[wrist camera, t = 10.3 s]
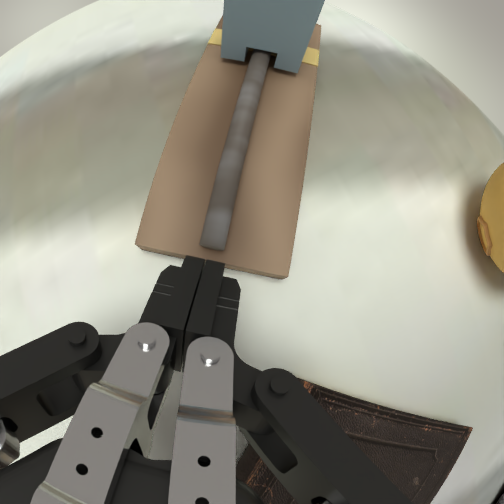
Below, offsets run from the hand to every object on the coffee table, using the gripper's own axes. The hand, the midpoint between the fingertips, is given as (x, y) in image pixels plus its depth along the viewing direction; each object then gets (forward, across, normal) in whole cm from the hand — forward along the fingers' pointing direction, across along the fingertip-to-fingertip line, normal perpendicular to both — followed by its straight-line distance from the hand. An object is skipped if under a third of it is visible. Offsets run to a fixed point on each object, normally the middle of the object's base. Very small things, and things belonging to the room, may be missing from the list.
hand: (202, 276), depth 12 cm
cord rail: (+12, 0, -5) cm, 13 cm away
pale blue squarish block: (+13, 0, -10) cm, 17 cm away
